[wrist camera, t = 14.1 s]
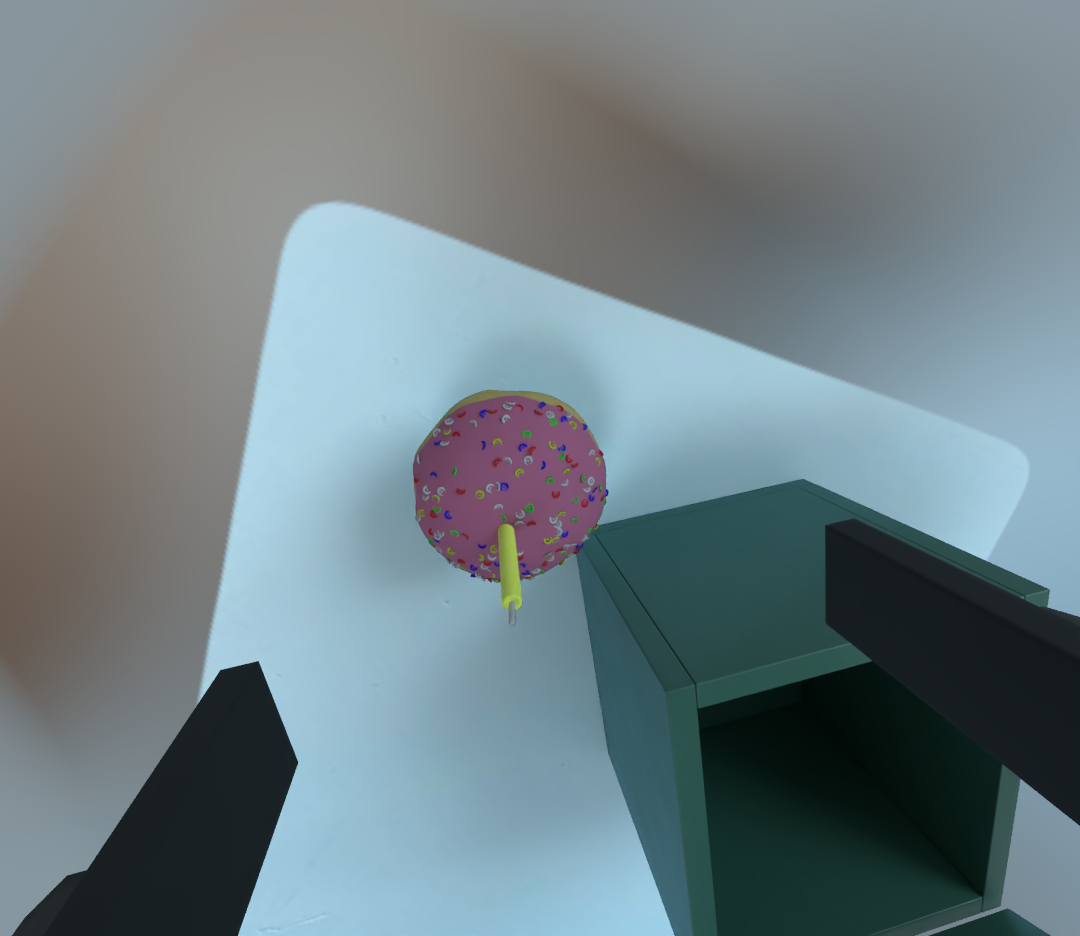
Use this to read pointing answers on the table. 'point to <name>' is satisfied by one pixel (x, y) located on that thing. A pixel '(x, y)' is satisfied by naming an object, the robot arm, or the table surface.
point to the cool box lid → (995, 926)
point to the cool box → (783, 729)
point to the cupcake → (509, 487)
